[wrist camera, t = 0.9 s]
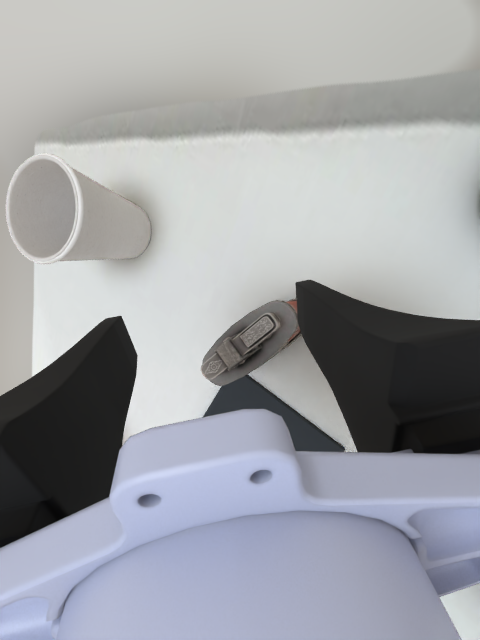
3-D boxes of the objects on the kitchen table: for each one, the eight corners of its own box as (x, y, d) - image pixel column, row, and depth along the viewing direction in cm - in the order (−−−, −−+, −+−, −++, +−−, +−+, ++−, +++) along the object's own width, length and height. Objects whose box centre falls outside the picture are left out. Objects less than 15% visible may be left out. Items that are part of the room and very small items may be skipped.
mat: (345, 448, 27) (344, 451, 27) (283, 524, 30) (282, 527, 29) (235, 365, 30) (233, 366, 30) (189, 441, 33) (186, 443, 33)
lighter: (253, 371, 30) (202, 408, 20) (232, 342, 30) (174, 365, 21) (323, 320, 27) (300, 335, 18) (298, 289, 27) (264, 288, 18)
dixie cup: (176, 219, 31) (96, 189, 22) (137, 286, 34) (50, 285, 25) (121, 175, 33) (27, 131, 24) (88, 242, 36) (-9, 225, 27)
